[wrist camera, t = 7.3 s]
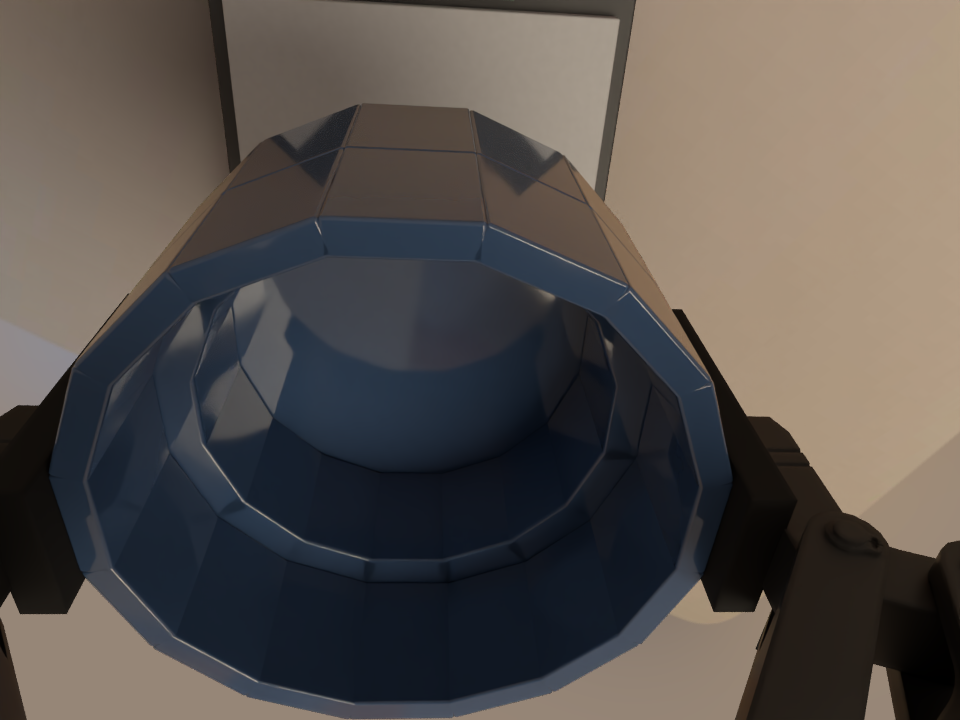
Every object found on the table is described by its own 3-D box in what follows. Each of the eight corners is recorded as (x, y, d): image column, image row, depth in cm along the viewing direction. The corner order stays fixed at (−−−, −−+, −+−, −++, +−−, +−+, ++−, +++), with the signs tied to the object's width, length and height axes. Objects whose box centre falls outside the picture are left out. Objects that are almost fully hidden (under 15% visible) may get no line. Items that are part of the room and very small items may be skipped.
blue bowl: (144, 85, 15) (-49, 202, 9) (673, 111, 16) (816, 235, 10) (216, 491, 21) (129, 723, 15) (599, 495, 22) (659, 716, 16)
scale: (218, -71, 25) (193, -68, 22) (626, -43, 26) (647, -38, 24) (261, 311, 33) (247, 345, 30) (573, 319, 34) (584, 353, 32)
